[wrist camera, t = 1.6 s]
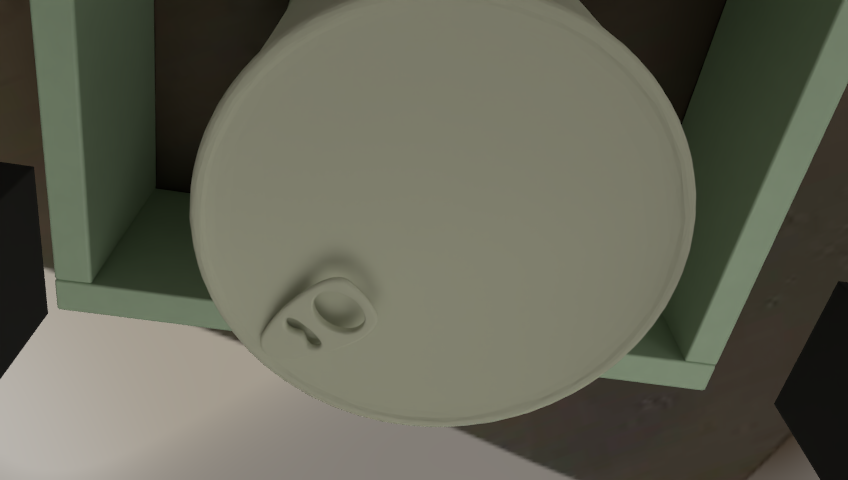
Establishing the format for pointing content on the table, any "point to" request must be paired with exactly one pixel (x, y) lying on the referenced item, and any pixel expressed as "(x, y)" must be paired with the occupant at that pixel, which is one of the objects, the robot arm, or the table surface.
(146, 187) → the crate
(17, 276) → the robot arm
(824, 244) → the table surface
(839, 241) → the table surface
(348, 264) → the can
